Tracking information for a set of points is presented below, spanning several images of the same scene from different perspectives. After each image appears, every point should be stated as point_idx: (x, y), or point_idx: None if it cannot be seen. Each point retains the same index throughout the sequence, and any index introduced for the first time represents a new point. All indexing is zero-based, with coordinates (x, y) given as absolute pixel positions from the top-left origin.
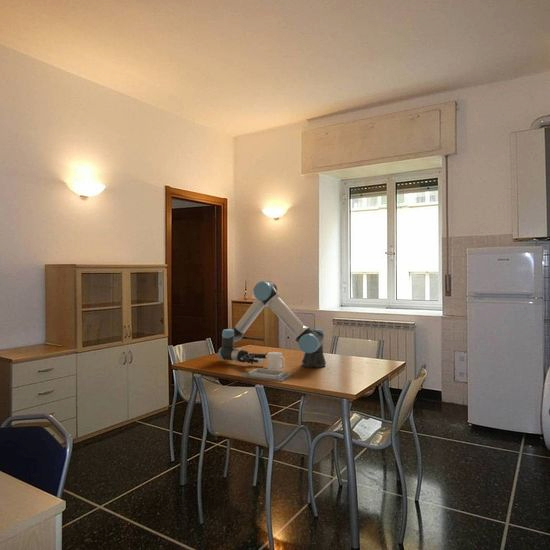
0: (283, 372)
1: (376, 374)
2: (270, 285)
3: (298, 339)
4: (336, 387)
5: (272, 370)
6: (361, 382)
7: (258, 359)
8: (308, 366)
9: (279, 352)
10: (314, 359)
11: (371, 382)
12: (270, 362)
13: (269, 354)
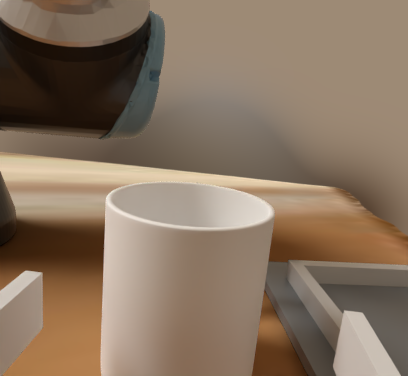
0: (337, 263)
1: (96, 166)
2: None
3: (138, 44)
4: (308, 198)
5: (342, 317)
6: (211, 179)
7: (392, 373)
8: (3, 239)
9: (122, 188)
10: (4, 184)
11: (197, 173)
12: (261, 306)
13: (270, 226)
